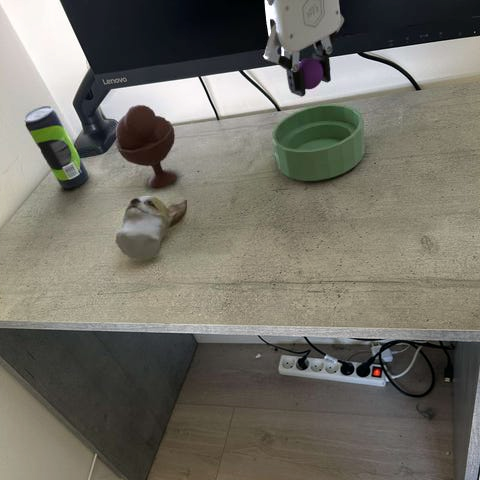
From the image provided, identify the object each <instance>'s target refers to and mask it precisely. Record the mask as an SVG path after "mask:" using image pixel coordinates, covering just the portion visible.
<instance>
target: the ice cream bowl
mask: <svg viewBox="0 0 480 480" xmlns="http://www.w3.org/2000/svg"><path fill="white" fill-rule="evenodd" d="M115 136H116V140H115V142H114V144H115V146H116V149H117V151H118V153H119V154H120V155H121V157H123V159H124V160H125V161H127V162H128V163H131V164H134V165H137V166H138V165H139V166H143V167H151V168H152V170H153V174H152V175H151V176H150V178H149V179H148V185H149V187H150V188H151V189H155V190H158V189H163V188H166V187H168V186H170V185H171V184H173V183H174V181H175V179H176V178H177V176H176V174H175V173H174V171H172V170H168V169H163V167H162V164H161V162H163V161H164V160H165V159H166V158H167V156H168V155H169V153H170V152H171V150H172V148H173V146H174V144H175V140H176V139H175V138H176V137H175V136H176V135H175V127H174V126H173V125H172V123H171V122H170V121H169V120H167V119H166V118H165V117H163V116H160V115H156V113H155V111H154V110H153V109H152V108H150V106H147V105H144V104H137V105H133V106H131V107H129V109H128V111H127V112H126V113H125V115H123V116H122V117H121V118H120V119H119V120H118V122H117V124H116V127H115Z"/></svg>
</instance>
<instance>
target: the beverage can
mask: <svg viewBox="0 0 480 480" xmlns="http://www.w3.org/2000/svg"><path fill="white" fill-rule="evenodd" d="M23 121H24V123H25V127H26V130H27V131H28V132H29V134H30V136H31V138H32V139H33V142H34V143H35V144H36V146H37V148H38V149H39V151H40V153H41V154H42V157H43V158H44V160H45V161H46V163H47V165H48V166H49V168H50V170H51V172H52V173H53V175H54V177H55V178H56V180H57V182H58V184H59V185H60V186H61V187H63V188H65V189H75V188H77V187H79V186H81V185H83V184H84V183H85V182H86V181H87V179H88V174H89V172H88V170H87V169H86V166H85V165H84V163H83V161H82V159H81V157H80V155H79V153H78V151H77V149H76V148H75V145H74V143H73V142H72V140H71V138H70V136H69V134H68V133H67V131H66V129H65V126H64V125H63V122H62V121H61V119H60V117H59V115H58V113H57V111H55V110H54V109H53V107H52V106H51V105H42V106H39V107H35V108H33V109H32V110H29V112H27V113H26V114H25V115H24V116H23Z"/></svg>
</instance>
